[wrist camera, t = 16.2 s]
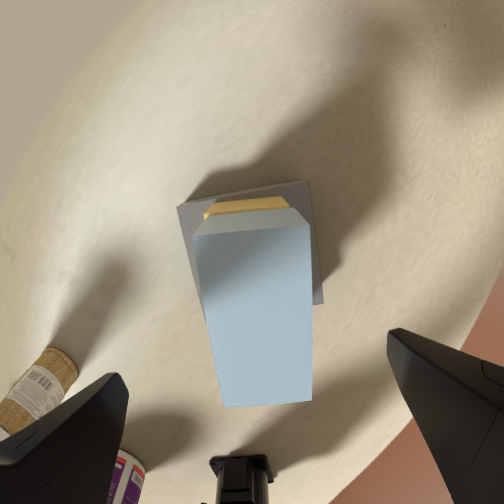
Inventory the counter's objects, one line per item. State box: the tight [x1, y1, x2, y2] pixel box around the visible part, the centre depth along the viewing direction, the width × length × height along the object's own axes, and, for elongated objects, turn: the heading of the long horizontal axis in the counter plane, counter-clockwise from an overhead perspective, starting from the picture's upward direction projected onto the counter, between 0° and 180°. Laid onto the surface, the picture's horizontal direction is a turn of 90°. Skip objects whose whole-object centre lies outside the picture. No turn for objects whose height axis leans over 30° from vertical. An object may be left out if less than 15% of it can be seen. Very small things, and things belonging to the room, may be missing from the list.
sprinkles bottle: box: [0, 348, 78, 441], centre depth 18 cm, size 5×5×14 cm
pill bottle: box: [107, 449, 145, 504], centre depth 22 cm, size 8×8×14 cm
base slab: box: [177, 180, 324, 324], centre depth 20 cm, size 8×8×3 cm
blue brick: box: [192, 207, 313, 408], centre depth 13 cm, size 8×4×4 cm, turn 5°
